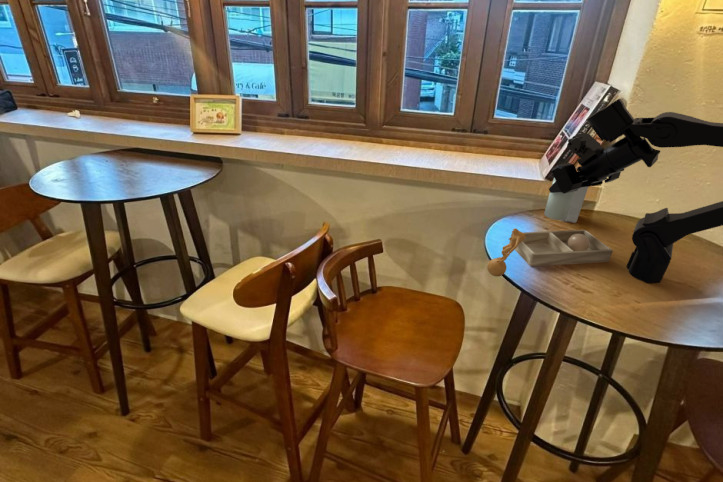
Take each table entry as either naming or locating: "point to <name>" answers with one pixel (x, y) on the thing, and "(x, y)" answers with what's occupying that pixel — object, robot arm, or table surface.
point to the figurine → (505, 254)
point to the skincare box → (576, 205)
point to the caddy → (560, 249)
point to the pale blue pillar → (558, 205)
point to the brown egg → (578, 242)
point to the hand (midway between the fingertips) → (557, 188)
